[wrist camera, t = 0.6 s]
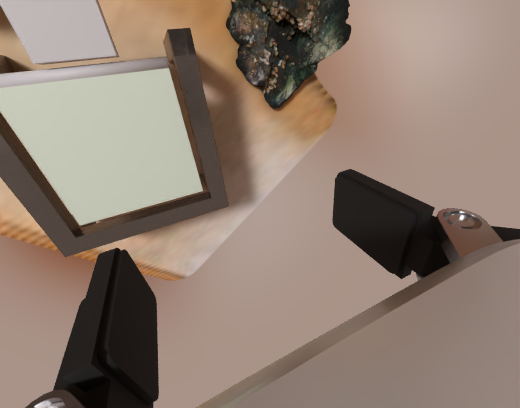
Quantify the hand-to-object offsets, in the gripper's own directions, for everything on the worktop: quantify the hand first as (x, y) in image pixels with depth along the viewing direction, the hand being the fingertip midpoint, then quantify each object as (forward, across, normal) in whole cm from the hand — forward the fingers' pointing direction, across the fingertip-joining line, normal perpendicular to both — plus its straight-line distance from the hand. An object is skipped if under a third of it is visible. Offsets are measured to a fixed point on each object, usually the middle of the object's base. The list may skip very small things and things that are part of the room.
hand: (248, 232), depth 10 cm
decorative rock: (+28, -17, -9) cm, 34 cm away
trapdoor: (+21, +7, -3) cm, 22 cm away
